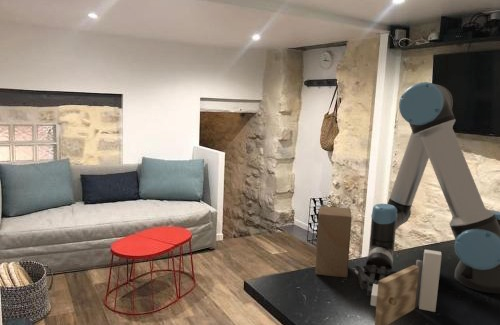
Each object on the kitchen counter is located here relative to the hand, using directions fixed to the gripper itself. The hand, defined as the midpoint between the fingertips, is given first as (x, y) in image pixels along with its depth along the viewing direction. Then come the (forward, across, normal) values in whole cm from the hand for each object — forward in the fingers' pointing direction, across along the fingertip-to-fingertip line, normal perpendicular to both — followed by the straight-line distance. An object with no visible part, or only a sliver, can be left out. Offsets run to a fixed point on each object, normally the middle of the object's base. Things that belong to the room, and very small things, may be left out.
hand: (374, 300), depth 98 cm
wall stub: (-14, -13, -6) cm, 21 cm away
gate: (-6, -6, -6) cm, 11 cm away
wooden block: (-28, +15, -7) cm, 32 cm away
